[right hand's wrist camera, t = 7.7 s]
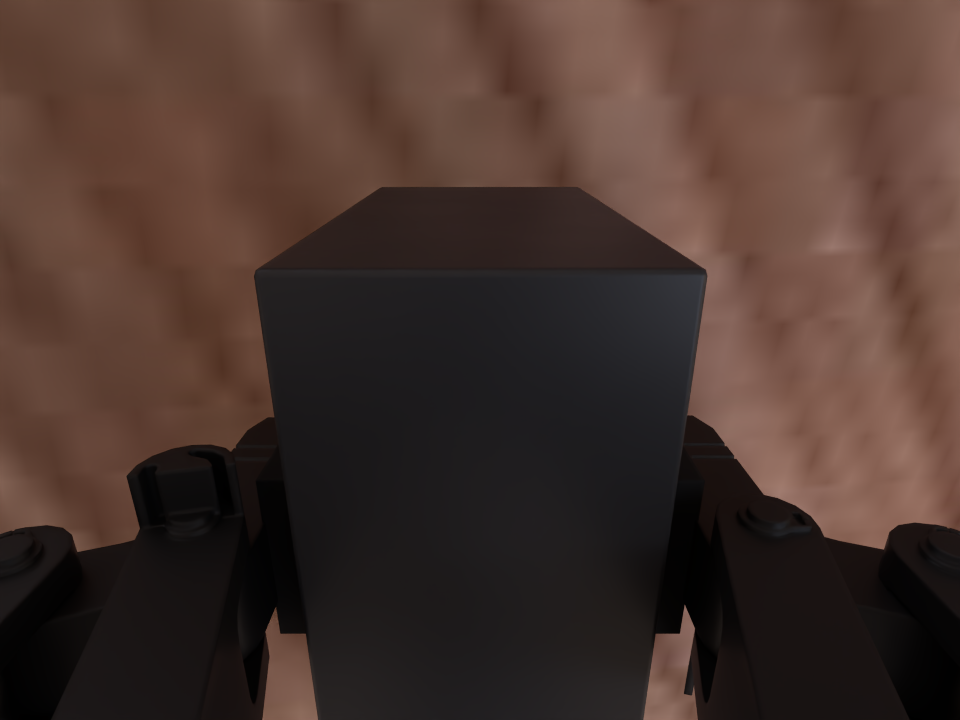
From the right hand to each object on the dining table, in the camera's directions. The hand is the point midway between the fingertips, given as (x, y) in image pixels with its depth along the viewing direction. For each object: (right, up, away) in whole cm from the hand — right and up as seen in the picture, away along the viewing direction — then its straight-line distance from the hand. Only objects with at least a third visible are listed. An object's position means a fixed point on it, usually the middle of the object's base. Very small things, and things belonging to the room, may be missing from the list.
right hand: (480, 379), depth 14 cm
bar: (0, -9, +4) cm, 10 cm away
